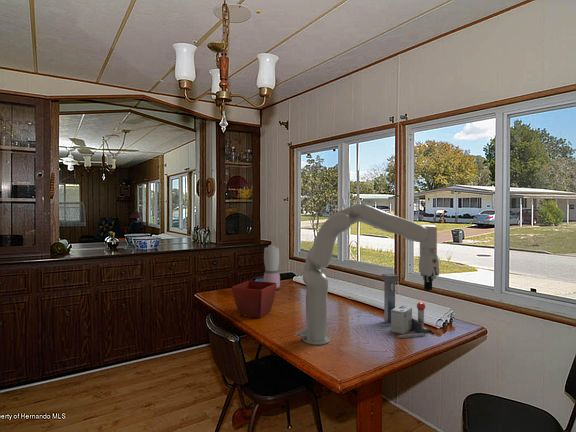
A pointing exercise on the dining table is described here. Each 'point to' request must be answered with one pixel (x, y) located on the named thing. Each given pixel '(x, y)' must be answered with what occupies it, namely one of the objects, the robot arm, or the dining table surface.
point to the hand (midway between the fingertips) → (428, 289)
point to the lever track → (427, 331)
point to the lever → (421, 314)
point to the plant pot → (254, 297)
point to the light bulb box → (401, 319)
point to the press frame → (390, 304)
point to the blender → (271, 265)
